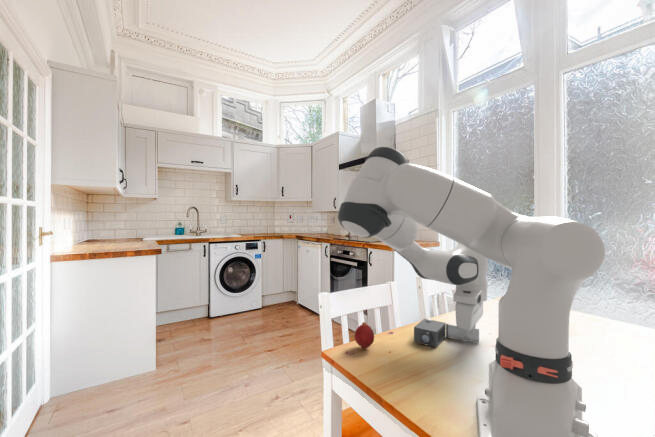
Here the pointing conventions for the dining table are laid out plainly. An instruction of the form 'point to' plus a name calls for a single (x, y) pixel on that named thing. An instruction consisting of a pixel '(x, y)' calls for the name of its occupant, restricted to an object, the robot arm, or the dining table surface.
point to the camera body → (430, 332)
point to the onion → (364, 335)
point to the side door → (460, 333)
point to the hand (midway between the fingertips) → (470, 337)
